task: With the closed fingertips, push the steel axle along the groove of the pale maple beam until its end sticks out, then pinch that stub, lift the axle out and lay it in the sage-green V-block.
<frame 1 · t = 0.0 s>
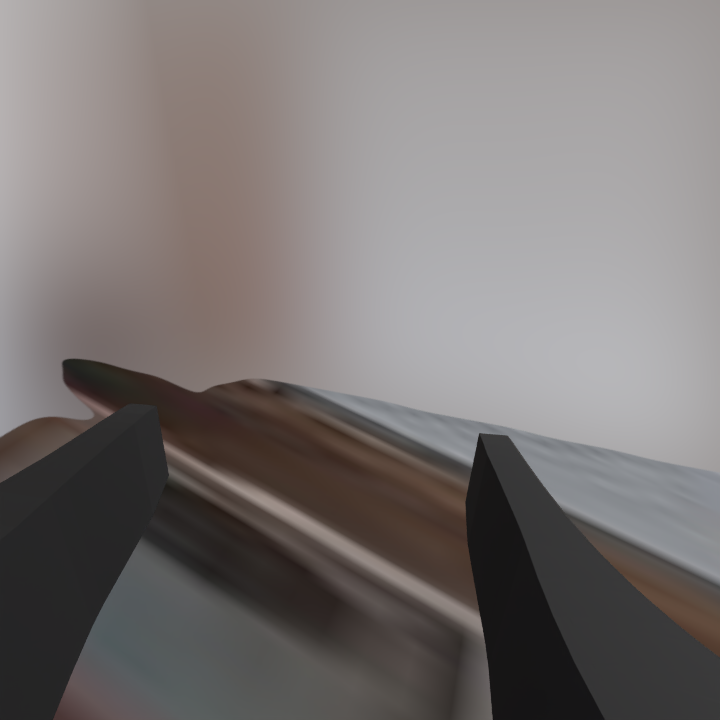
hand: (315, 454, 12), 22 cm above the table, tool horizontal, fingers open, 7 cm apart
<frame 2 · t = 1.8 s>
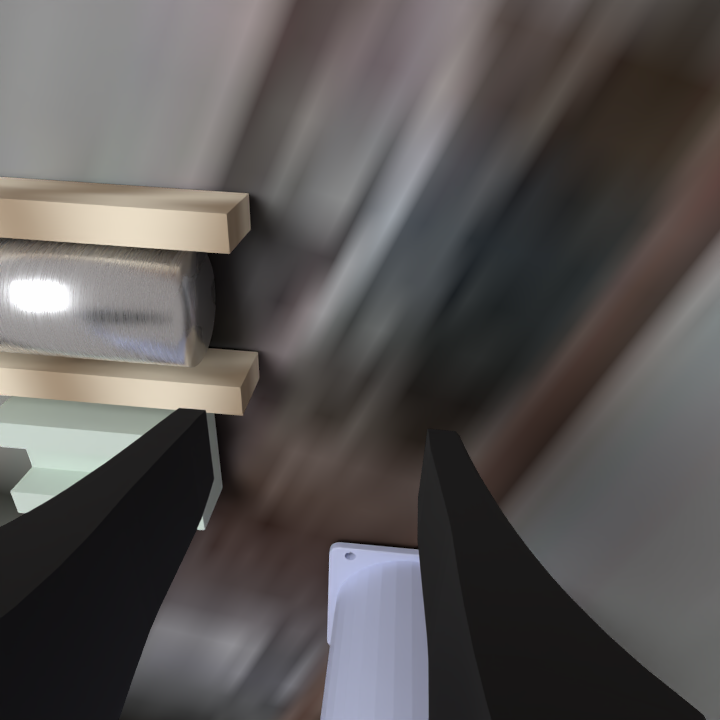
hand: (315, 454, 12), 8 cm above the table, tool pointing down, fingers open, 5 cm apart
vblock: (127, 438, 23), on the table
axle: (65, 297, 18), point 2 cm above the table, tilted 5°
beam: (93, 282, 20), on the table
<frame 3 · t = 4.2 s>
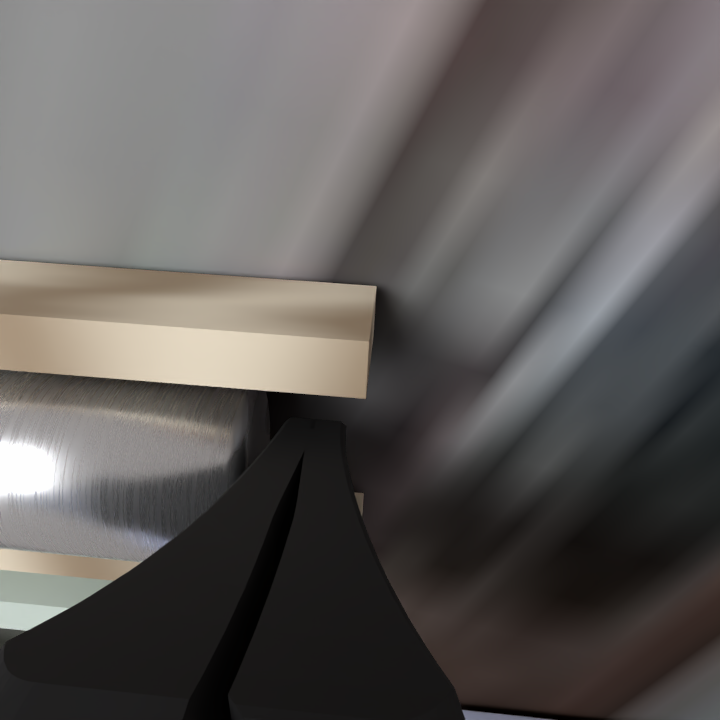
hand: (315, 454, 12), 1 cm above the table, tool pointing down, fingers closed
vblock: (170, 589, 17), on the table
axle: (49, 455, 12), point 2 cm above the table, touching gripper
beam: (131, 402, 14), on the table
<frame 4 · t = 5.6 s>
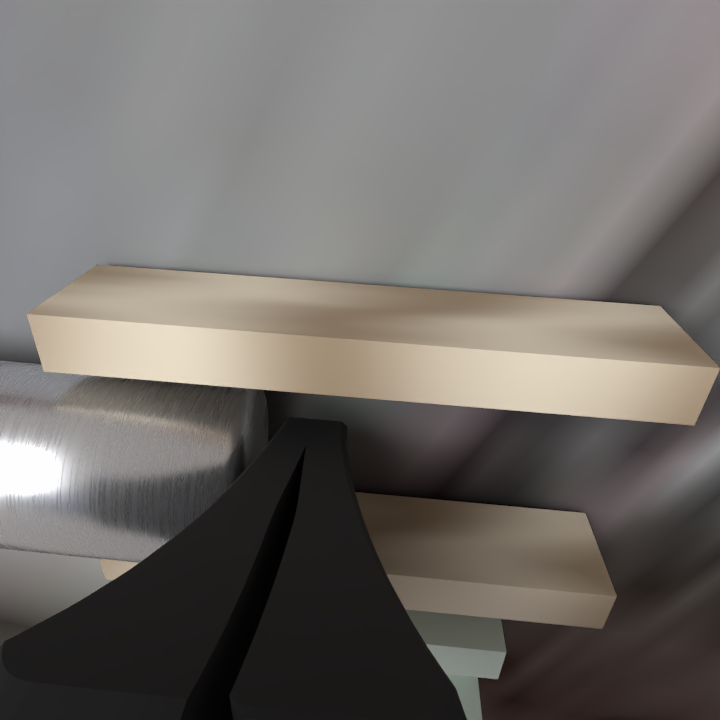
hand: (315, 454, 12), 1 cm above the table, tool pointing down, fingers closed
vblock: (352, 606, 17), on the table
axle: (47, 455, 12), point 2 cm above the table, touching gripper
beam: (363, 420, 13), on the table
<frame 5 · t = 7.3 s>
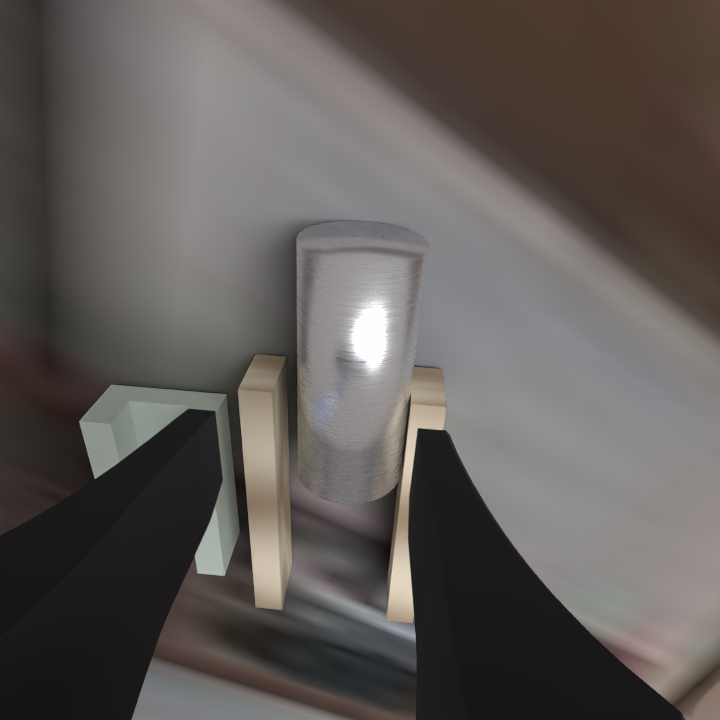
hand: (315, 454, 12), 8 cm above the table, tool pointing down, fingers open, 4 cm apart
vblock: (180, 464, 24), on the table
axle: (355, 366, 19), point 2 cm above the table, tilted 14°
beam: (343, 478, 24), on the table
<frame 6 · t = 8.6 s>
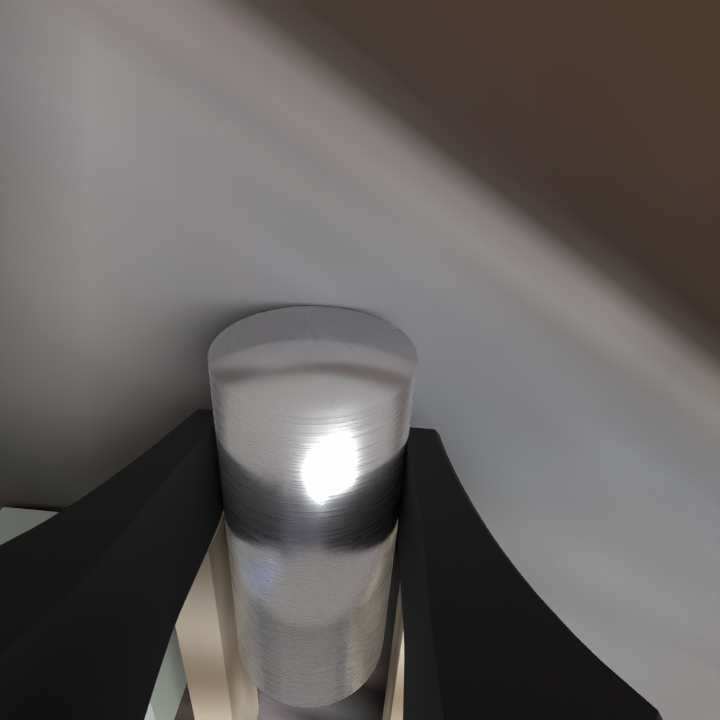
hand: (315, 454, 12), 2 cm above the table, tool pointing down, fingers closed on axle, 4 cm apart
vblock: (106, 599, 18), on the table
axle: (312, 515, 13), point 2 cm above the table, touching gripper
beam: (321, 621, 18), on the table
when the fingers open (5 cm above the table, at t = 11.9 s): axle stays where it is, resting on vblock.
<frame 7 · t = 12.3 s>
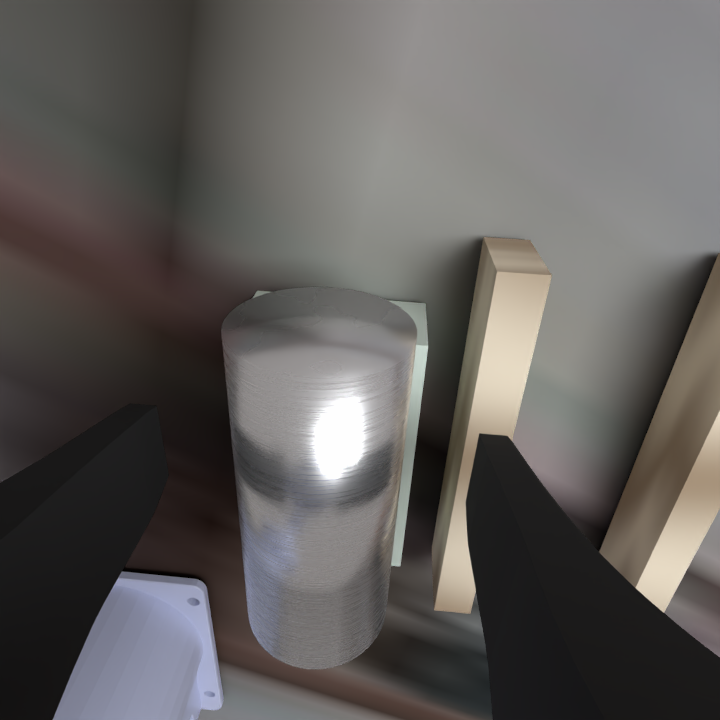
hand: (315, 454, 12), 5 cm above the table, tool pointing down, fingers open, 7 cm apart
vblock: (337, 411, 17), on the table
axle: (319, 486, 13), point 4 cm above the table, touching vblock
beam: (567, 430, 17), on the table
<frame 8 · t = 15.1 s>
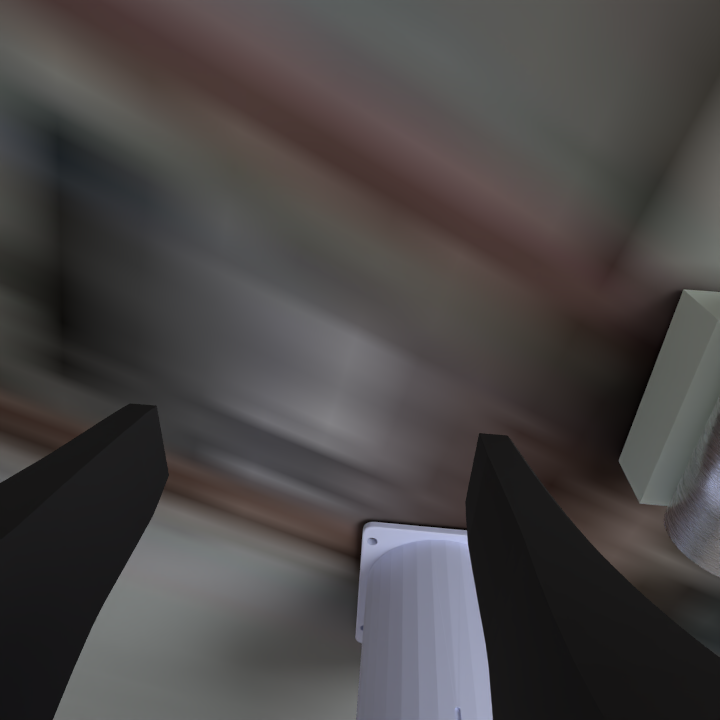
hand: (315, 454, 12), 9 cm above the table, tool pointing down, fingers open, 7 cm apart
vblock: (710, 388, 21), on the table
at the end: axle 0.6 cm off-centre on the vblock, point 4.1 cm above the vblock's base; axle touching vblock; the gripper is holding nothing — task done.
